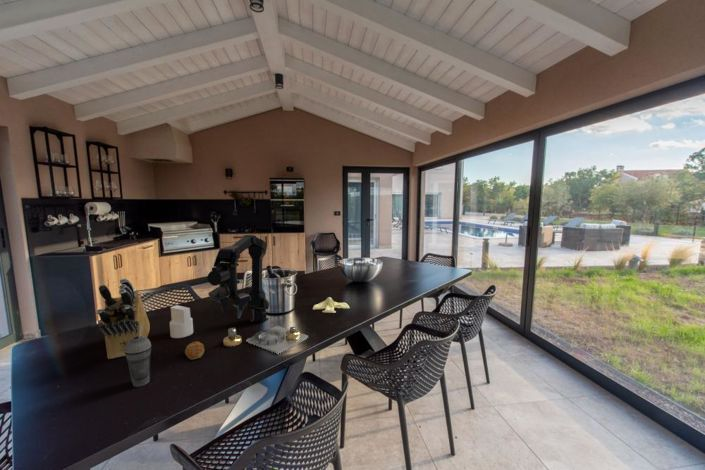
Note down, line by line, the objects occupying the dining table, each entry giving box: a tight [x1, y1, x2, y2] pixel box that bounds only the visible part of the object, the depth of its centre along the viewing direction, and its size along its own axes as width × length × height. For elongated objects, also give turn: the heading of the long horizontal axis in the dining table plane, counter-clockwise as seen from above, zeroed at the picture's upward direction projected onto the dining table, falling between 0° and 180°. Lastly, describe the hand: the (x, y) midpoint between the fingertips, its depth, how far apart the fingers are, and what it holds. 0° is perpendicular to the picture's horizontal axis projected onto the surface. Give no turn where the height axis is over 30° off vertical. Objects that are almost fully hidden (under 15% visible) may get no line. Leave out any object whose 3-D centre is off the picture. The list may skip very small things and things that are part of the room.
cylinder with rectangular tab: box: [169, 304, 194, 339], centre depth 138 cm, size 9×9×12 cm
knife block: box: [96, 278, 151, 360], centre depth 123 cm, size 11×35×31 cm, turn 27°
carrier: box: [246, 325, 309, 355], centre depth 131 cm, size 19×17×5 cm
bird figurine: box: [312, 296, 351, 314], centre depth 173 cm, size 22×19×6 cm
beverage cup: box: [125, 324, 153, 388], centre depth 100 cm, size 7×7×20 cm
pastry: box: [184, 341, 205, 360], centre depth 119 cm, size 9×7×4 cm
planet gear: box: [223, 327, 243, 348], centre depth 129 cm, size 7×7×6 cm
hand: (231, 315), depth 128 cm, fingers open, 9 cm apart
